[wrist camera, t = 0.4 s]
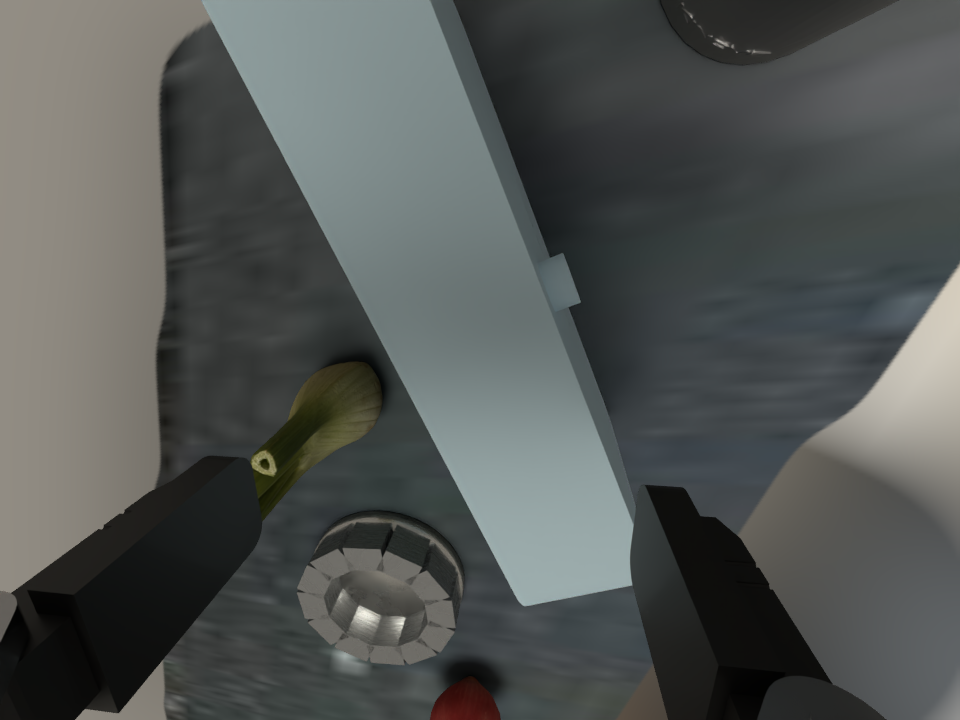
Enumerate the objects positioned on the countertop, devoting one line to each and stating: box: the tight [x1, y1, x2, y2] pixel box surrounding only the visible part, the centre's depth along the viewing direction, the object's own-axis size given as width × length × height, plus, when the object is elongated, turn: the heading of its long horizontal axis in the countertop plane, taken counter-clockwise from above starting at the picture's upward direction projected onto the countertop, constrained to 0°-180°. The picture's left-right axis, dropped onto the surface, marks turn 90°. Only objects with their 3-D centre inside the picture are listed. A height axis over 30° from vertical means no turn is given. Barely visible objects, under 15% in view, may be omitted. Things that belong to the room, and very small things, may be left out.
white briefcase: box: [201, 0, 636, 606], centre depth 19 cm, size 23×6×13 cm, turn 24°
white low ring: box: [297, 511, 465, 665], centre depth 34 cm, size 12×12×4 cm
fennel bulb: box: [250, 362, 382, 521], centre depth 24 cm, size 6×5×12 cm
